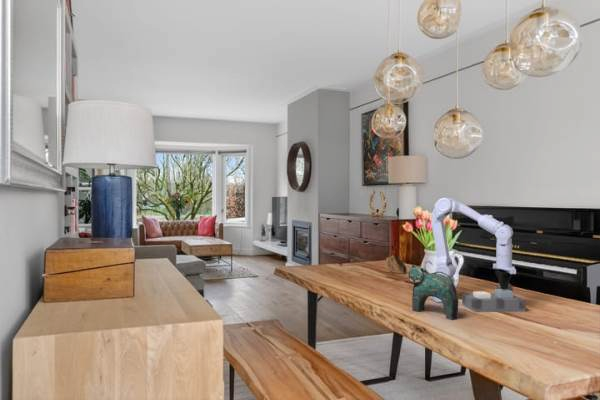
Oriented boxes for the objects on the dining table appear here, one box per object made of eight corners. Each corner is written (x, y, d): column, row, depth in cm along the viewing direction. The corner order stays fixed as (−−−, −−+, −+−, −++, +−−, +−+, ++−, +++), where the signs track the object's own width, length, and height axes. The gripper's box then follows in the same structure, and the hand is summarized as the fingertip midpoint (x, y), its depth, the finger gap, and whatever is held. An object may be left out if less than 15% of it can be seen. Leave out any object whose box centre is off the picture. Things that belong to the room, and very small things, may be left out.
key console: (475, 311, 170) (475, 300, 170) (462, 304, 182) (462, 293, 182) (525, 311, 171) (525, 299, 171) (509, 304, 183) (509, 293, 183)
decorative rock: (385, 272, 261) (385, 254, 261) (389, 271, 265) (390, 253, 265) (403, 274, 253) (403, 256, 253) (408, 273, 258) (408, 255, 258)
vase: (515, 301, 187) (515, 281, 187) (497, 301, 188) (497, 280, 188) (510, 298, 193) (510, 278, 193) (494, 297, 195) (494, 277, 195)
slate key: (500, 301, 174) (500, 291, 174) (494, 298, 179) (494, 289, 179) (513, 301, 174) (513, 291, 174) (506, 298, 179) (506, 289, 179)
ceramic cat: (406, 310, 172) (407, 259, 172) (417, 307, 176) (417, 257, 176) (451, 321, 157) (451, 265, 157) (461, 318, 160) (462, 263, 160)
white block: (478, 304, 173) (478, 294, 173) (473, 301, 178) (473, 291, 178) (491, 304, 174) (491, 294, 174) (485, 301, 179) (485, 291, 179)
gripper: (523, 257, 169) (523, 292, 169) (504, 252, 184) (504, 285, 184) (505, 257, 169) (505, 292, 169) (488, 253, 183) (488, 285, 183)
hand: (504, 289), depth 176 cm, fingers closed
